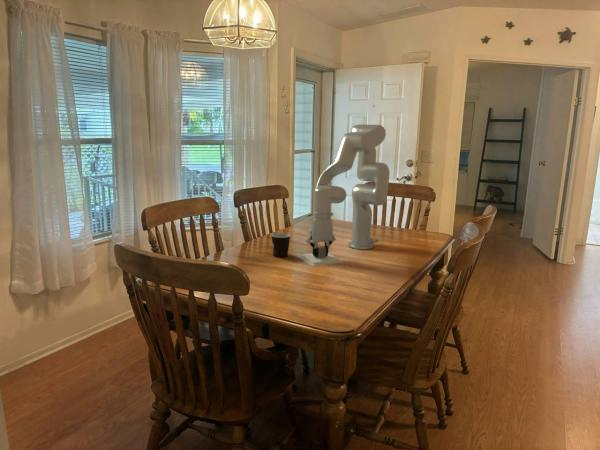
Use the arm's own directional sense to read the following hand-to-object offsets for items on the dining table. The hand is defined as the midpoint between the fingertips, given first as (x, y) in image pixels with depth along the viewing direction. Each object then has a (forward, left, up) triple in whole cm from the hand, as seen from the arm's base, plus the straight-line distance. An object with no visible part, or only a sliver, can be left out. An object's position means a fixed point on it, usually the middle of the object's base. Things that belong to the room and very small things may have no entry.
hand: (320, 255), depth 199 cm
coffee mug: (+14, -12, -2) cm, 19 cm away
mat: (0, 0, -2) cm, 2 cm away
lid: (0, 0, -2) cm, 2 cm away
